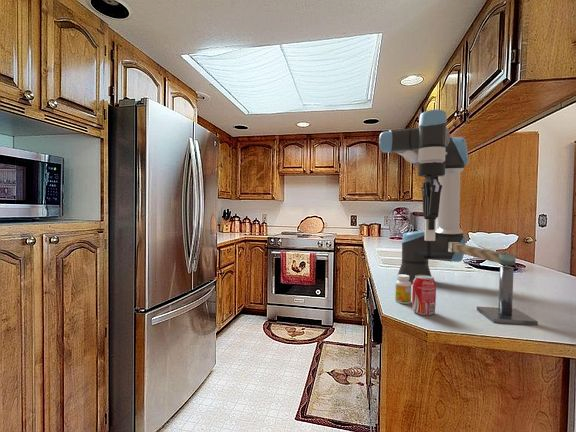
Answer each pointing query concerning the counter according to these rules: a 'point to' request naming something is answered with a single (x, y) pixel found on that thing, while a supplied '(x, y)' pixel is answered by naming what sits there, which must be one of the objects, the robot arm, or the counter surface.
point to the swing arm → (482, 253)
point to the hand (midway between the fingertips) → (429, 240)
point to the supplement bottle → (403, 289)
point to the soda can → (424, 295)
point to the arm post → (506, 303)
